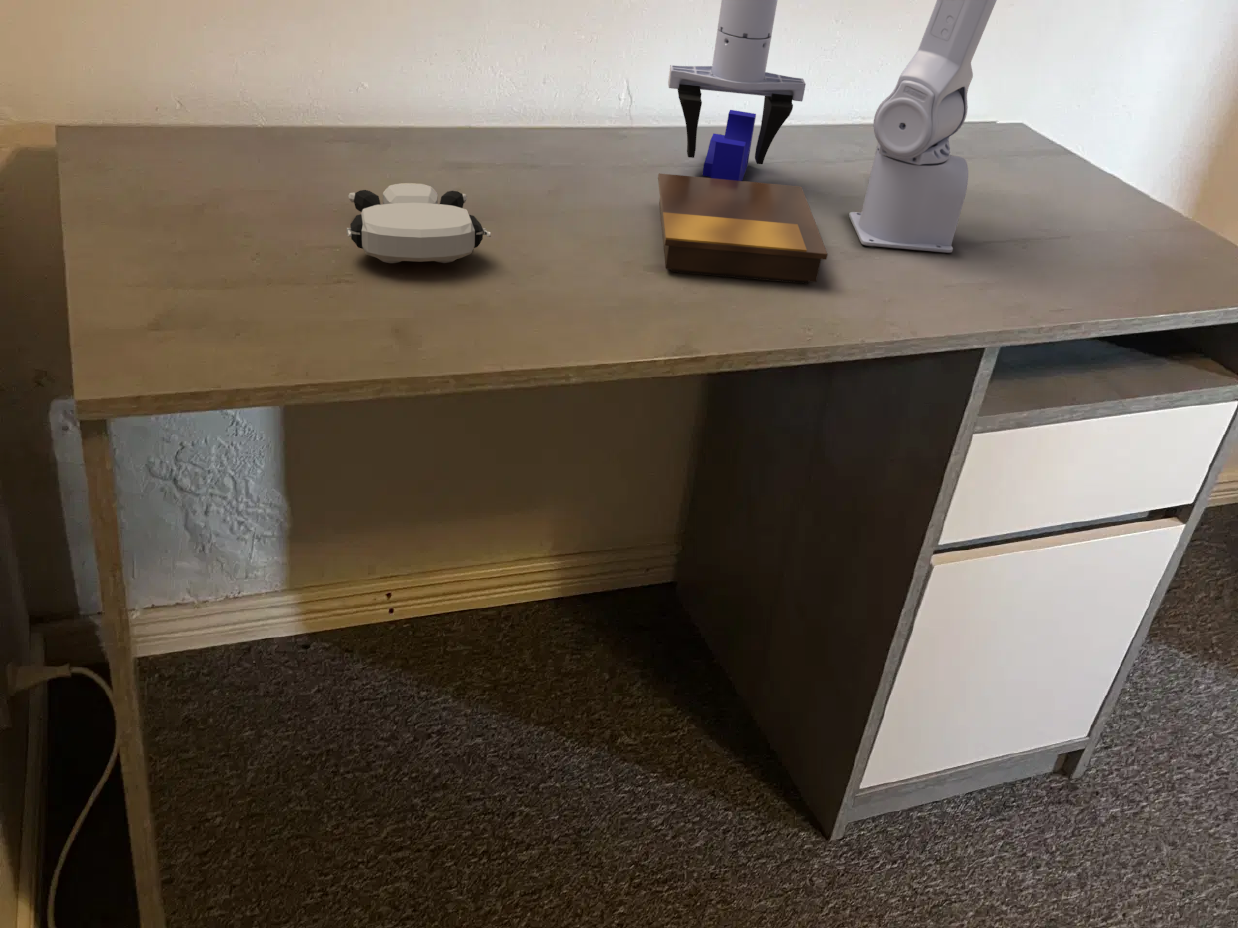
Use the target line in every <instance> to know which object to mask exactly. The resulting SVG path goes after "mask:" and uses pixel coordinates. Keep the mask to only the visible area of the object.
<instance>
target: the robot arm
mask: <svg viewBox="0 0 1238 928" xmlns="http://www.w3.org/2000/svg"><path fill="white" fill-rule="evenodd" d="M996 3H997V0H936V2H935V5H934V7H933V10H932V12H931V14H930V17H929V21H928V22H927V25H926V28H925V30H924V33H923V35H922V38H921V41H920V43H919V46H918V49H917V50H916V52H915V54H914V55H913V56H912V58H911V59H910V61H909V62H908V63H907V65H906V66H905V68H904V69H903V70H902V72H901V73H900V75H899V77H898V79H897V83H896V85H895V87H894V89H893V90H892V92H891V93H890V94H889V95H888V96H887V97H886V98H885V99H883V101H881V103H880V104H879V105H878V107H877V108H876V111H875V114H874V116H873V117H874V118H873V133H874V137H875V139H876V141H877V142H876V147H875V151H874V156H873V161H872V165H871V170H870V174H869V178H868V182H867V186H866V191H865V195H864V199H863V204H862V208H861V212H858V211H851V212H849V214H848V217H849V219H850V222H851V223H852V224H851V225H852V226H853V228H854V231H855V233H856V235H857V237H858V239H859V241H860V243H861V244H862V245H863V246H869V247H878V248H890V249H902V250H913V251H923V252H924V251H925V252H935V253H947V254H951V253H952V252H953V250H954V248H953V246H952V245H953V240H954V237H955V233H956V230H957V228H958V223H959V220H960V216H961V214H962V213H961V212H962V209H963V206H964V202H965V198H966V194H967V190H968V185H969V184H968V183H969V167H968V162H967V160H966V158H965V157H964V156H961V155H953V154H951V147H950V137H952V136H953V135H955V134H956V133H957V132H958V131H959V130H960V129H961V128H962V126H963V125H964V123H965V121H966V118H967V115H968V108H969V106H968V92H969V87H970V85H971V83H972V80H973V77H974V73H973V67H972V60H973V59H974V56H975V54H976V51H977V49H978V46H979V44H980V41H981V39H982V37H983V34H984V32H985V29H986V27H987V25H988V22H989V20H990V17H991V15H992V12H993V10H994V8H995V5H996ZM777 6H778V0H720V9H719V14H718V15H719V16H718V23H717V30H716V38H715V44H714V51H713V57H712V63H711V64H712V65H673V64H670V65H669V72H668V78H667V79H668V81H667V85H668V88H669V89H673V90H677V95H678V100H679V103H680V107H681V109H682V113H683V117H684V121H685V128H686V129H685V130H686V143H687V145H686V153H687V154H686V155H687V158H692V159H694V158H695V155H696V151H697V148H696V147H697V137H698V135H697V134H698V126H699V121H700V119H699V118H700V116H701V115H700V114H701V110H702V104H703V101H702V91H703V90H704V91H712V92H722V93H733V94H742V95H751V96H763V97H764V99H763V107H762V114H761V115H762V116H761V122H760V123H761V124H760V129H759V134H758V138H757V142H756V146H755V153H754V159H755V164H756V165H763V164H764V161H765V158H766V155H767V153H768V151H769V149H770V146H771V145H772V142H773V140H774V138H775V137H776V135H777V133H778V132H779V131H780V128H781V127H782V126H783V125H784V123H785V121H786V120H787V119H788V118H789V117H790V116H791V113H792V111H793V107H794V104H793V101H794V102H803V101H804V96H805V90H806V84H807V83H806V82H805V80H804V78H801V77H795V76H787V75H782V74H777V73H772V72H768V71H766V70H767V67H768V66H767V65H768V59H769V53H770V48H771V43H772V35H773V29H774V23H775V17H776V11H777ZM701 90H702V91H701Z"/></svg>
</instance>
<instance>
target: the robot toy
mask: <svg viewBox="0 0 1238 928" xmlns="http://www.w3.org/2000/svg"><path fill="white" fill-rule="evenodd" d="M438 195H439V194H438V192H437V191H436V190H435V189H434V188H433V186H431V185H429V184H424V183H414V182H413V183H412V182H405V183H404V182H403V183H401V182H399V183H395V184H391V185H388V186H387V187H386V189H384V191H383V192H382V203H381V200H380V196H379V195H378V194H376V193H374V192H372V191H371V190H367V189H359V190H358V191H356V192H349V193H348V196H347V197H348V199H349V201H350V202H351V203H353V204H354V207H355V210H356V211H358V212H360V214H356V216H354V218H353V220H352V221H351V222H350V227H346V235H347V237H348V238H350V240H351V241H352V242H353V243H354V244H355V245H356V247H357V248H358V249H363V252H364V253H365V255H366V256H367V255H368V256H370V257H373V258H376V259H378V260H380V261H381V262H383V263H388V264H397V263H401V262H417V263H418V262H419V263H420V262H421V263H422V262H423V263H424V262H436V263H442V264H447V263H452V262H454V261H455V260H457V259H462V258H464V257H467V256H469V255H472V253H473V250H474V249H476V248H479V246H480V245H481V242H482V241H483V239H484V237H483V236H486V237H488V238H491V237H492V235H491V234H492V232H491V231H487V228H486V227H483V226H482V224H481V223H480V221H479V220H478V219H477V218H476V216H475V215H473V214H469V211H468V209H466V208H463V207H464V205H465V204H466V202H467V200H468V196H467V194H466V193H462V192H459V191H458V190H449V191H446V192H445V193H444V194H443V195H441V197H440V201H439V203H438Z"/></svg>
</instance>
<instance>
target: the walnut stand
mask: <svg viewBox="0 0 1238 928" xmlns="http://www.w3.org/2000/svg"><path fill="white" fill-rule="evenodd" d="M657 181H658V191H659V201H658V206H659V217H660V224H661V225H660V226H661V234H662V245H663V246H662V247H663V254H664V255H663V256H664V261H665V262H664V264H665V269H666V270H670V272H671V273H679V274H680V273H681V274H692V275H704V276H714V277H715V276H716V277H725V278H726V277H727V278H738V279H750V280H759V281H760V280H761V281H772V282H785V283H798V284H807V285H808V284H809V283H811V282H812V283H817V281H818V276H819V271H820V266H821V263H822V262H821V261H822V260H827V259H828V255H829V254H828V252H827V248H826V246H825V244H824V241H823V239H822V236H821V233H820V230H819V229H818V225H817V223H816V220H815V218H814V215H813V212H812V210H811V208H810V205H809V203H808V200H807V197H806V194H805V192H804V189H803V187H802V186H799V185H790V184H789V185H788V184H780V183H779V184H778V183H768V182H767V183H766V182H765V183H764V182H756V181H747V180H742V181H736V180H725V179H714V178H711V177H704V176H694V175H693V176H691V175H681V174H670V173H669V174H668V173H658V175H657Z"/></svg>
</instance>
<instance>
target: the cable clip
mask: <svg viewBox="0 0 1238 928" xmlns="http://www.w3.org/2000/svg"><path fill="white" fill-rule="evenodd" d="M756 117H757V113H754V112H753V113H752V112H747V111H741V110H735V109H730V110H729V111H728V115H727V121H726V126H725V131H724V134H719V133H712V136H711V138H710V140H709V145H708V148H707V152H706V156H705V160H704V162H703V169H702V177H707V178H714V179H725V180H736V181H744V177H745V173H746V172H747V167H748V166H749V159H750V153H751V147H752V141H753V137H754V136H753V135H754V130H755V125H756V124H755V123H756Z"/></svg>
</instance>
